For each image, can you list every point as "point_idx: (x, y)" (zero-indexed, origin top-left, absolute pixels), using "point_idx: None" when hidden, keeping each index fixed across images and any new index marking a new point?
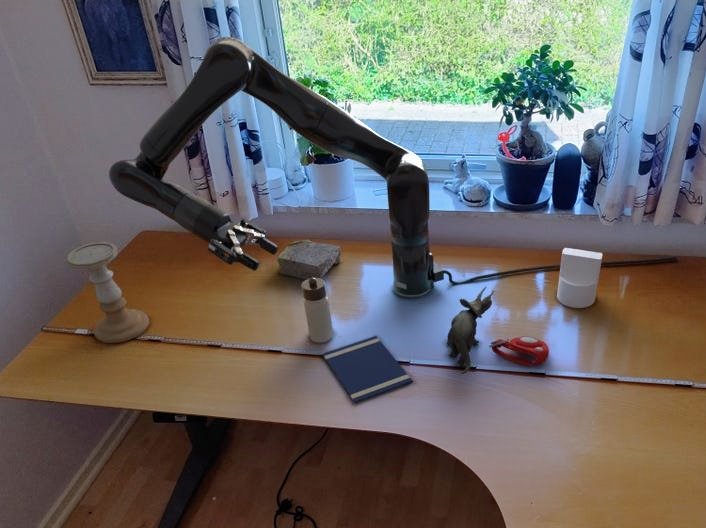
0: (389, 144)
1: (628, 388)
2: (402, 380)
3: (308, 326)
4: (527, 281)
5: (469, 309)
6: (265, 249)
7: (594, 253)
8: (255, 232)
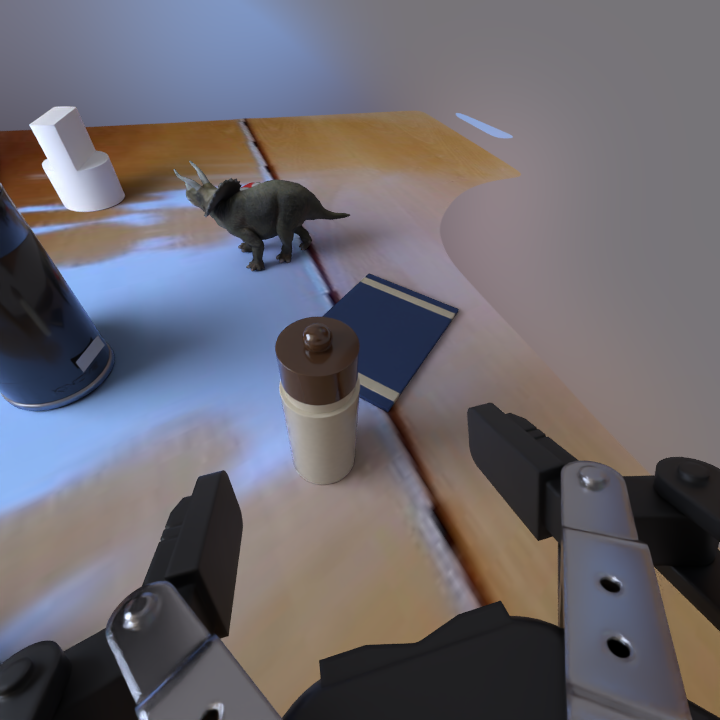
0: None
1: (275, 161)
2: (377, 281)
3: (352, 448)
4: None
5: (220, 204)
6: (232, 579)
7: (55, 110)
8: (133, 692)
